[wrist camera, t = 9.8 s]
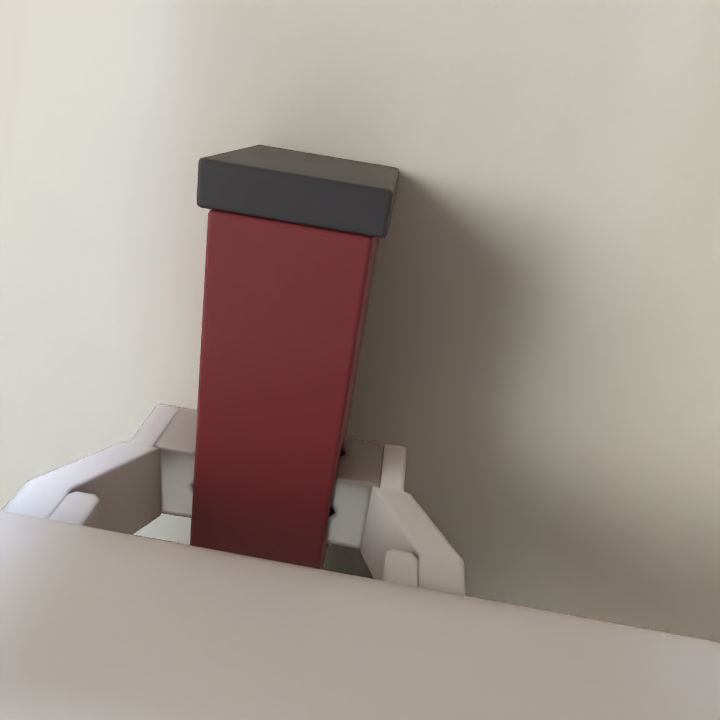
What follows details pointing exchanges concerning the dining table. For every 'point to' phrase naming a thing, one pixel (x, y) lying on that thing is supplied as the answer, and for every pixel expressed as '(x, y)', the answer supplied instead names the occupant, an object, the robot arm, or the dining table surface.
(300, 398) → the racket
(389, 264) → the dining table surface
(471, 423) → the dining table surface
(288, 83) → the dining table surface
